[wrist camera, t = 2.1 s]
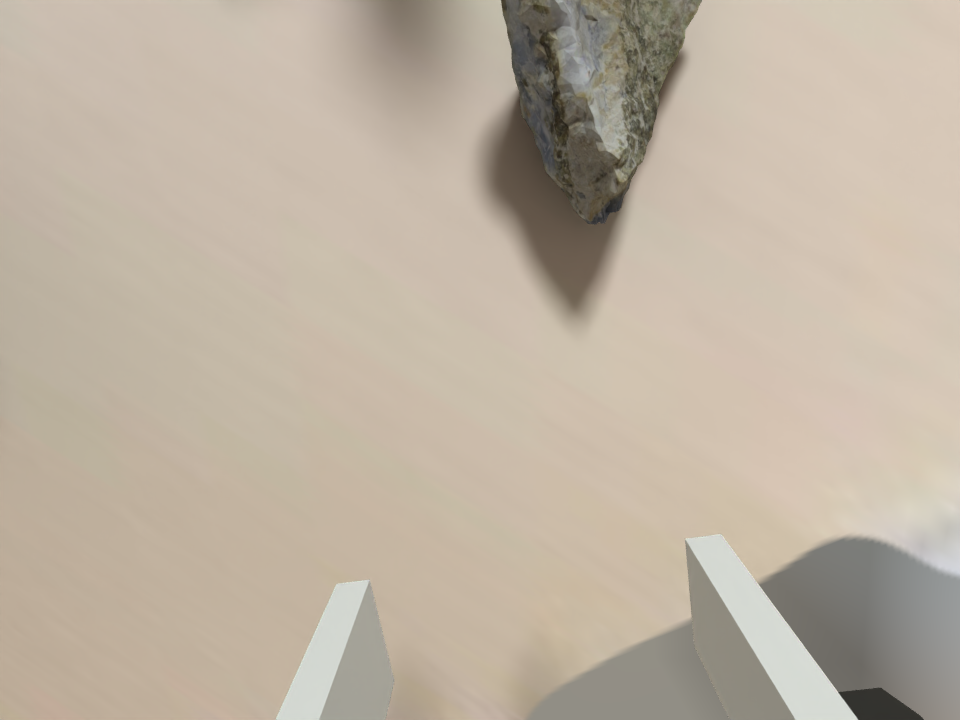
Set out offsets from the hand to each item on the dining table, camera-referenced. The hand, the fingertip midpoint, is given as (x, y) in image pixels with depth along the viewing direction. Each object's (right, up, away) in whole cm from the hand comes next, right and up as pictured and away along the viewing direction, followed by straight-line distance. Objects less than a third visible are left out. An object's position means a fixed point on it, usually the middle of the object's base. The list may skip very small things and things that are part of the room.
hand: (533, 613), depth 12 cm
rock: (-1, +16, +8) cm, 17 cm away
